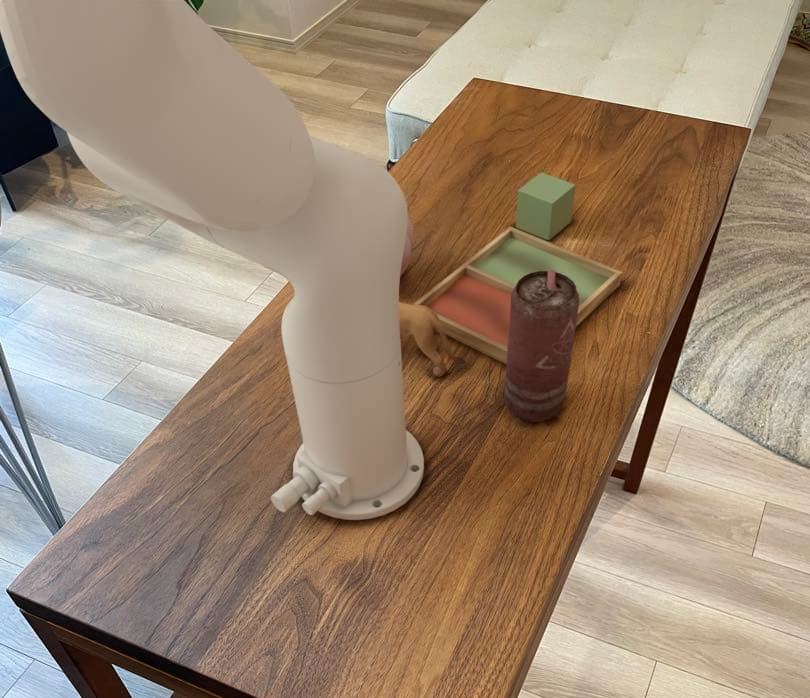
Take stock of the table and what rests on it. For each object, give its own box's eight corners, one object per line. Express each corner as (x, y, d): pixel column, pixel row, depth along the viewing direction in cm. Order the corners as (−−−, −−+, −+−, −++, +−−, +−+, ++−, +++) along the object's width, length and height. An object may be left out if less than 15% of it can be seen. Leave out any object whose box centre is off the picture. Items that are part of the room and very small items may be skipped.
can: (563, 382, 87) (579, 266, 76) (563, 425, 83) (581, 310, 72) (504, 380, 87) (512, 264, 76) (502, 423, 84) (511, 308, 72)
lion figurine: (329, 358, 91) (319, 289, 83) (346, 328, 94) (337, 258, 86) (459, 382, 87) (460, 312, 80) (472, 350, 90) (474, 279, 83)
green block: (548, 241, 102) (552, 203, 98) (515, 227, 104) (517, 190, 100) (571, 222, 104) (575, 184, 100) (537, 209, 106) (541, 171, 102)
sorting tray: (526, 374, 88) (527, 361, 86) (412, 318, 94) (411, 305, 93) (620, 285, 96) (622, 271, 95) (509, 239, 103) (510, 226, 101)
